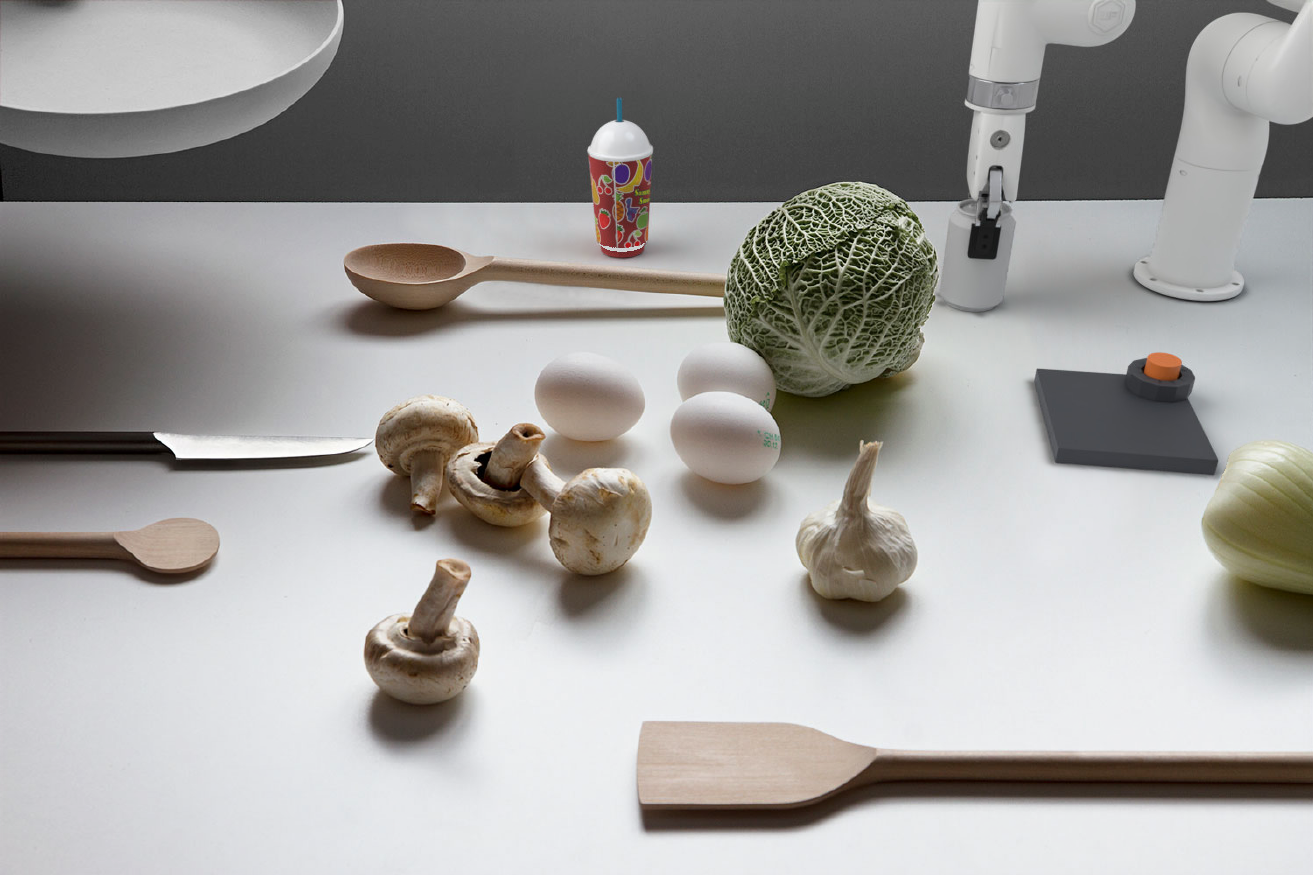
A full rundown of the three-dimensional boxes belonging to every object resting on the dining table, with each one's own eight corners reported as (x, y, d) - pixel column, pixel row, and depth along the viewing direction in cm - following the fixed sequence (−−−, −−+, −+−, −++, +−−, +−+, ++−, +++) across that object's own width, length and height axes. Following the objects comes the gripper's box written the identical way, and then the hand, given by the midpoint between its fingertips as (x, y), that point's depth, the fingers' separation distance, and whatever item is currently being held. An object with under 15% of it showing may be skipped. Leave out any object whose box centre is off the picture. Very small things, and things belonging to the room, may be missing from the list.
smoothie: (653, 262, 147) (652, 107, 137) (589, 262, 147) (583, 108, 137) (654, 238, 154) (653, 90, 144) (593, 239, 154) (587, 90, 144)
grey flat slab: (1033, 380, 119) (1038, 350, 117) (1178, 390, 117) (1186, 359, 115) (1055, 463, 105) (1061, 431, 103) (1220, 476, 103) (1230, 443, 101)
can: (1004, 317, 132) (1020, 219, 126) (938, 312, 134) (951, 215, 127) (1000, 291, 139) (1016, 197, 132) (938, 286, 140) (950, 193, 134)
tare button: (1140, 366, 115) (1144, 351, 114) (1173, 368, 114) (1177, 353, 114) (1147, 381, 112) (1151, 365, 111) (1181, 383, 112) (1185, 367, 111)
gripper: (1047, 115, 115) (1019, 275, 125) (1027, 74, 130) (1004, 220, 139) (972, 112, 117) (950, 271, 126) (960, 72, 131) (941, 217, 140)
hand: (978, 244), depth 132 cm, fingers closed on can, 7 cm apart
